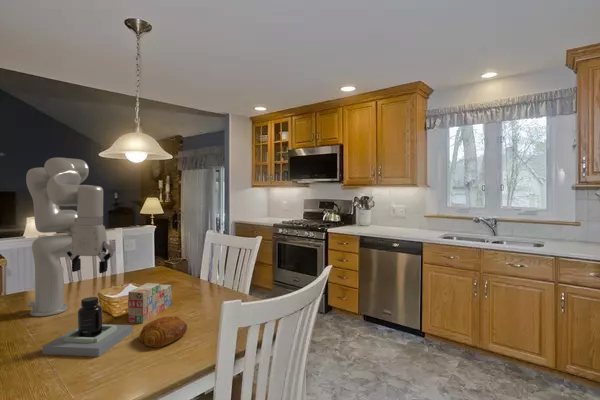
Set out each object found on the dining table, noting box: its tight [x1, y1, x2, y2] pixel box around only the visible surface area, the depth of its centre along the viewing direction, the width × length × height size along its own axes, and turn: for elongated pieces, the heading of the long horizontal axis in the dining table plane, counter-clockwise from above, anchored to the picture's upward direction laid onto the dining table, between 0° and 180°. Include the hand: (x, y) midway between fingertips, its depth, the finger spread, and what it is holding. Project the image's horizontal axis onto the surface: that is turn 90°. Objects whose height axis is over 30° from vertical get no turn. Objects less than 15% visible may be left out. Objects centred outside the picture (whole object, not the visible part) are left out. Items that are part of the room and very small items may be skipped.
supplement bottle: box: [77, 296, 103, 337], centre depth 110 cm, size 7×7×12 cm
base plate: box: [42, 323, 134, 357], centre depth 110 cm, size 18×18×4 cm
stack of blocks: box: [127, 282, 173, 324], centre depth 137 cm, size 21×6×12 cm, turn 172°
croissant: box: [139, 315, 188, 349], centre depth 114 cm, size 14×16×8 cm
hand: (89, 271), depth 113 cm, fingers open, 9 cm apart
